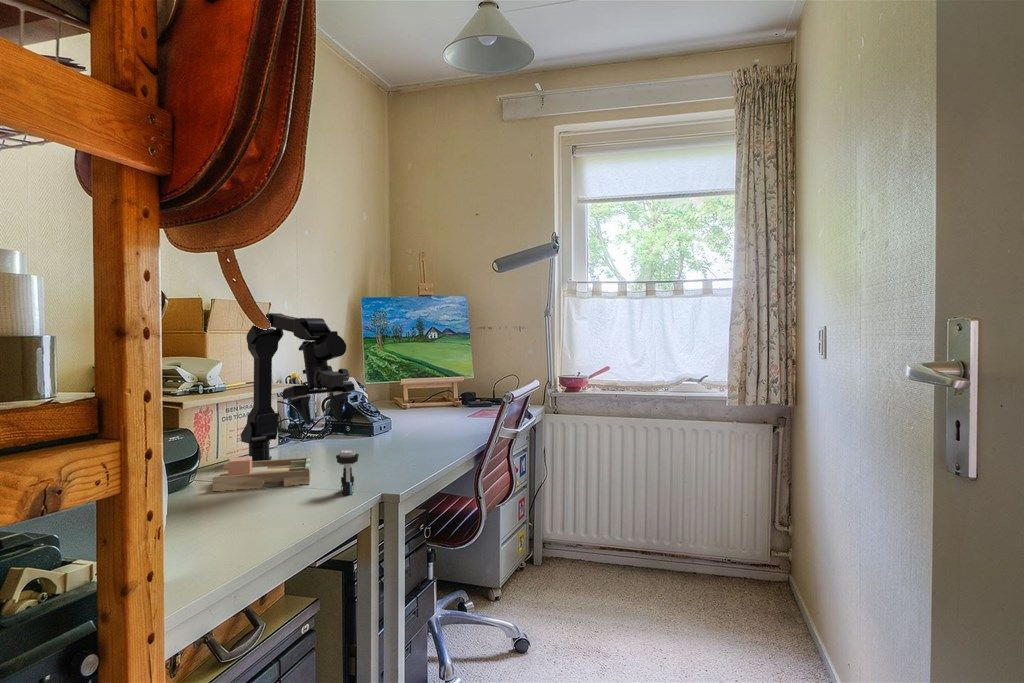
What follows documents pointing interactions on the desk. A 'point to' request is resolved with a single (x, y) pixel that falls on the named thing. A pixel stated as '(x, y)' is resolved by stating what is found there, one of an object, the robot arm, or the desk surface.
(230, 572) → the desk surface
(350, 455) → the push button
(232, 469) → the block
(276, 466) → the board
